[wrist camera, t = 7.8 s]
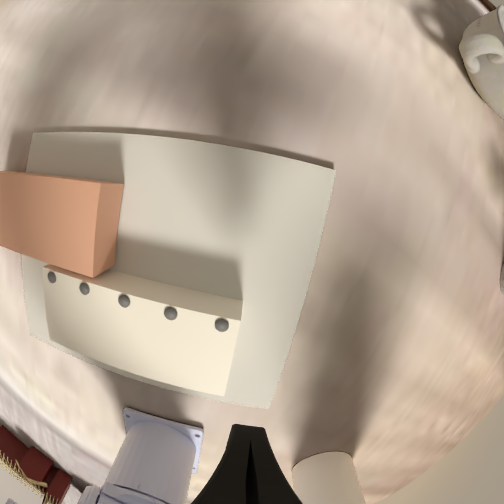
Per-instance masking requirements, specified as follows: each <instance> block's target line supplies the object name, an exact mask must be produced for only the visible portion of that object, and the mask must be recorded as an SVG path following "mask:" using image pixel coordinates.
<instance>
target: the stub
mask: <svg viewBox="0 0 504 504" xmlns="http://www.w3.org/2000/svg"><path fill="white" fill-rule="evenodd" d="M123 186H124V184H121V183H114V182H107V181H100V180H92V179H84V178H75V177H67V176H58V175H48V174H37V173H26V172H14V171H0V246H3V247H5V248H8V249H10V250H13V251H15V252H18V253H21V254H24V255H26V256H29V257H32V258H35V259H37V260H40V261H43V262H46V263H49V264H52V265H55V266H58V267H61V268H64V269H67V270H70V271H73V272H76V273H79V274H82V275H86V276H89V277H92V278H93V277H95V276H97V275H98V274H100V273H102V272H104V271H105V270H107V269H109V268H110V267H112V266H114V265H115V255H116V242H117V232H118V223H119V214H120V207H121V199H122V193H123Z"/></svg>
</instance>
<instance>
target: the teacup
mask: <svg viewBox="0 0 504 504" xmlns="http://www.w3.org/2000/svg"><path fill="white" fill-rule="evenodd" d="M459 50H460V54H461V56H462V58H463V61H464V65H465V67H466V71H467V73H468V76H469V78H470V80H471V82H472V84H473V86H474V87H475V89H476V91H477V92H478V94H479V95H480V96H481V98H482V99H483V100H484V101H485V102H486V103H487V104H488V106H489V107H490V108H491V109H492V110H493V111H494V112H495V113H496V114H497V115H498V116H500V117H501V118H502V119H504V5H500V6H498V7H497V9H496V10H494V11H492V12H489V13H487V14H485V15H483V16H482V17H480V18H478V19H476V20H475V21H473V22H472V23H471V24H469V25H468V26H467V28H466V29H465V31H464V33H463V36H462V41H461V42H460V44H459Z"/></svg>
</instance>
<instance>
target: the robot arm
mask: <svg viewBox="0 0 504 504" xmlns="http://www.w3.org/2000/svg"><path fill="white" fill-rule="evenodd" d="M123 414H124V421H125V428H126V434H127V435H126V438H125V440H124V442H123V444H122V446H121V448H120V450H119V453H118V455H117V457H116V459H115V461H114V463H113V466H112V468H111V470H110V472H109V474H108V477H107V479H106V481H105V483H104V485H103V486H102V487H101V488H100V487H98V486H96V485H92V486H86V488H85V490H84V491H83V493H82V495H81V497H80V499H79V502H78V504H186V500H187V495H188V490H189V485H190V480H191V475H192V473H193V474H195V473H197V469H198V463H199V457H200V451H201V445H202V439H203V433H204V430H203V429H201V428H199V427H194V426H190V425H186V424H182V423H178V422H174V421H170V420H166V419H163V418H159V417H156V416H152V415H149V414H146V413H143V412H140V411H136V410H134V409H131V408H127V407H126V408H124V410H123ZM6 504H17V503H15V502H14V501H13V500H12V499H8V500H7V502H6ZM191 504H303V503H302V502H301V501H300V499H299V498H298V497H297V495H296V494H295V492H294V491H293V489H292V488H291V486H290V485H289V483H288V481H287V480H286V478H285V476H284V475H283V473H282V471H281V469H280V467H279V465H278V463H277V460H276V458H275V456H274V454H273V451H272V449H271V446H270V443H269V441H268V438H267V434H266V431H265V429H264V428H262V427H254V426H246V425H240V424H234V425H232V428H231V432H230V435H229V439H228V442H227V446H226V450H225V452H224V454H223V457H222V459H221V461H220V463H219V464H218V466H217V468H216V470H215V471H214V473H213V475H212V476H211V478H210V480H209V481H208V482H207V484H206V485H205V487H204V488H203V489H202V491H201V492H200V493H199V495H198V496H197V497H196V498H195V500H194V501H193V502H192V503H191Z"/></svg>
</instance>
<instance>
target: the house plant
mask: <svg viewBox="0 0 504 504" xmlns="http://www.w3.org/2000/svg"><path fill="white" fill-rule="evenodd" d="M500 288H501V292H502V294H504V264H503V267H502V271H501V276H500Z"/></svg>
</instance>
